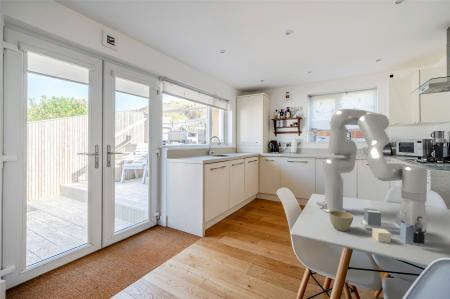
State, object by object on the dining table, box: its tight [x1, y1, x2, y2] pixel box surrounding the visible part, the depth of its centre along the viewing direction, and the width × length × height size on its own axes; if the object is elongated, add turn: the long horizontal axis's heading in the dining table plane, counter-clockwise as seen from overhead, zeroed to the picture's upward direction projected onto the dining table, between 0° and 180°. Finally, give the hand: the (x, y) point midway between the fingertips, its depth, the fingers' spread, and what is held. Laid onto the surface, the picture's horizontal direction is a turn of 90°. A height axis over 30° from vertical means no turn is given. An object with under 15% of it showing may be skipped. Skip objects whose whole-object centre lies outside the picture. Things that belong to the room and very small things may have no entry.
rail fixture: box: [360, 207, 401, 235], centre depth 94 cm, size 20×9×8 cm, turn 70°
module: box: [399, 222, 426, 247], centre depth 82 cm, size 6×4×7 cm
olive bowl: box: [328, 211, 354, 232], centre depth 95 cm, size 10×10×7 cm
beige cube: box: [371, 228, 392, 244], centre depth 84 cm, size 4×4×4 cm
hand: (411, 237), depth 82 cm, fingers open, 9 cm apart
